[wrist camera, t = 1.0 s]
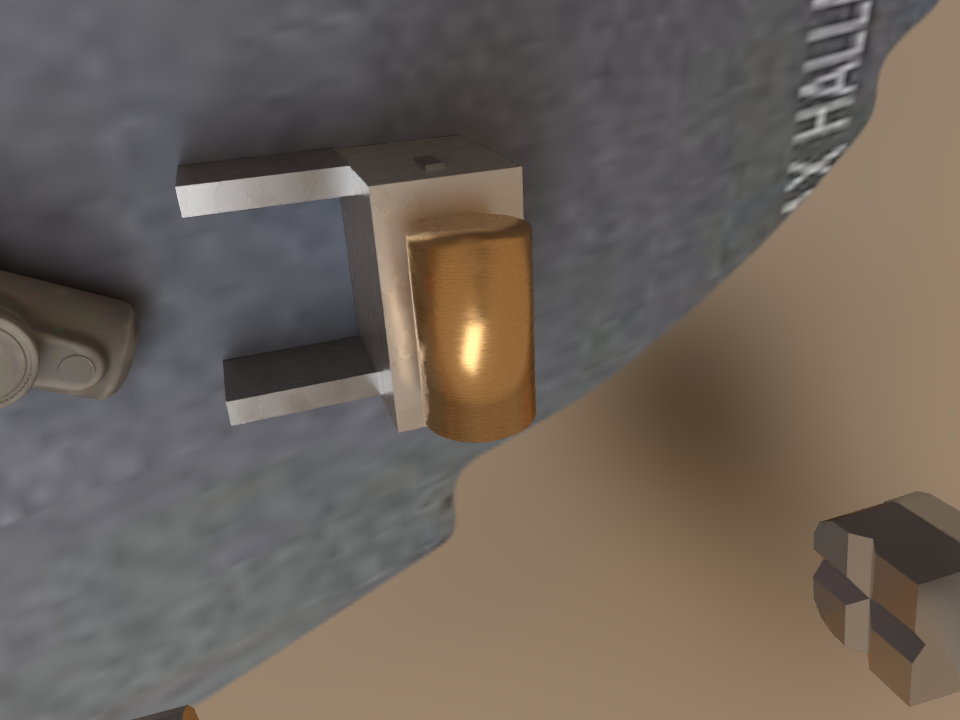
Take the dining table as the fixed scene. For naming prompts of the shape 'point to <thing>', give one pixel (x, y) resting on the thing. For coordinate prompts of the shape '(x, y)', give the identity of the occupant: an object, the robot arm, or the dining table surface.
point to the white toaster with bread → (400, 285)
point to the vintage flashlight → (62, 340)
